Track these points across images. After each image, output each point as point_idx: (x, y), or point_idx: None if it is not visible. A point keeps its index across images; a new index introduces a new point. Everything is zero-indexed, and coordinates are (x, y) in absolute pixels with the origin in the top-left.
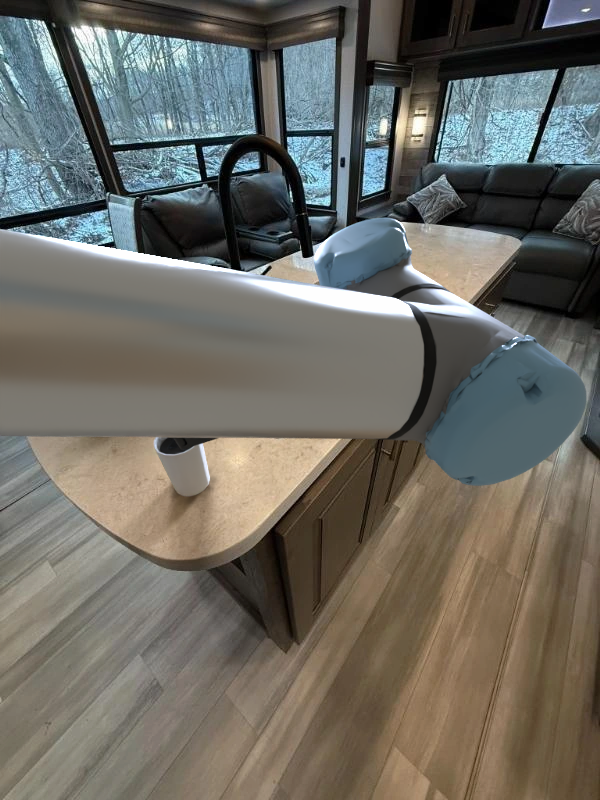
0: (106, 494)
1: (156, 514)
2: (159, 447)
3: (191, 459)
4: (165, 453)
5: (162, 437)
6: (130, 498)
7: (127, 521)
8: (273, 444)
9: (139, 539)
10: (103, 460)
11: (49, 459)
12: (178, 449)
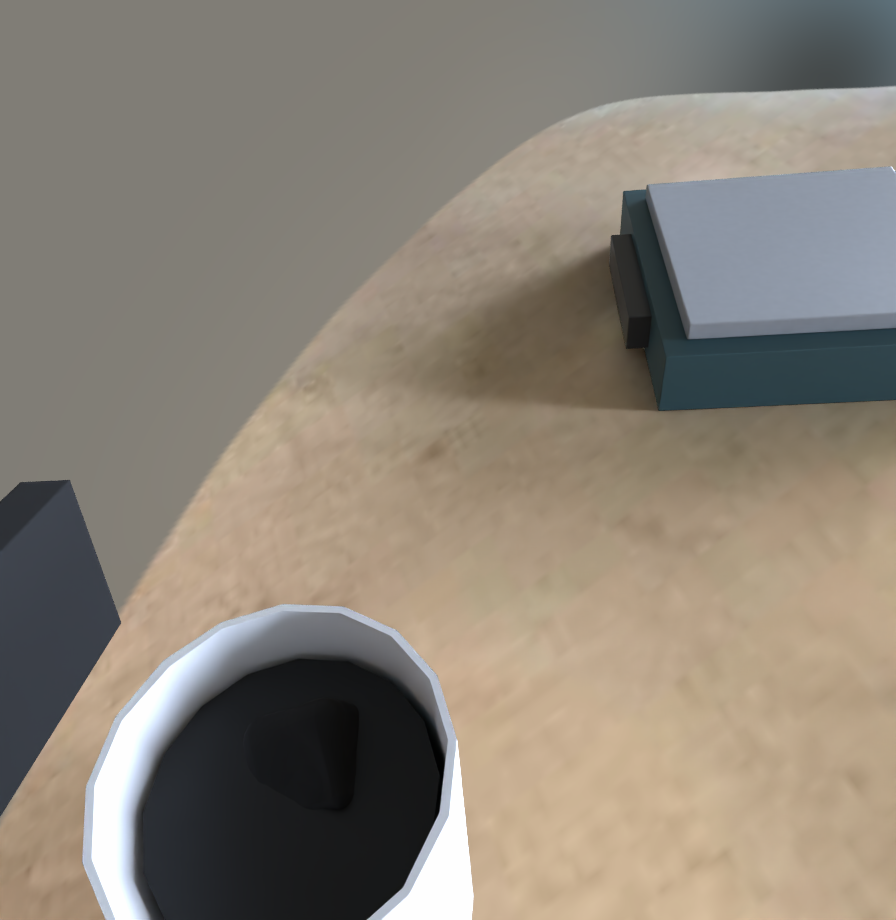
0: (226, 570)
1: None
2: (256, 668)
3: None
4: (197, 744)
5: (314, 637)
6: None
7: (103, 739)
8: None
9: (8, 859)
10: (377, 451)
11: (336, 326)
12: (246, 811)
